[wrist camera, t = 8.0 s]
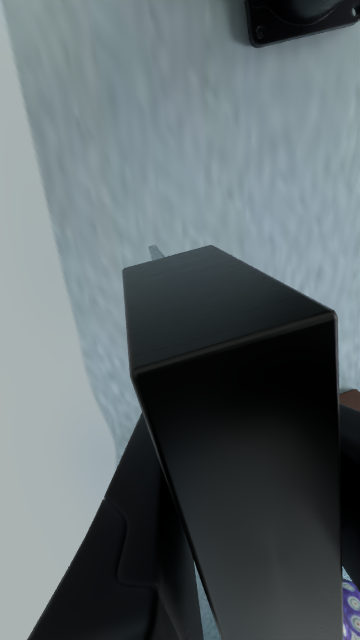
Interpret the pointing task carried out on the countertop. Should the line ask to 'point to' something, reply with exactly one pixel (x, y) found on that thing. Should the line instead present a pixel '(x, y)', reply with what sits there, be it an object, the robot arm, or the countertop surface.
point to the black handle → (244, 436)
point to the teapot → (351, 611)
